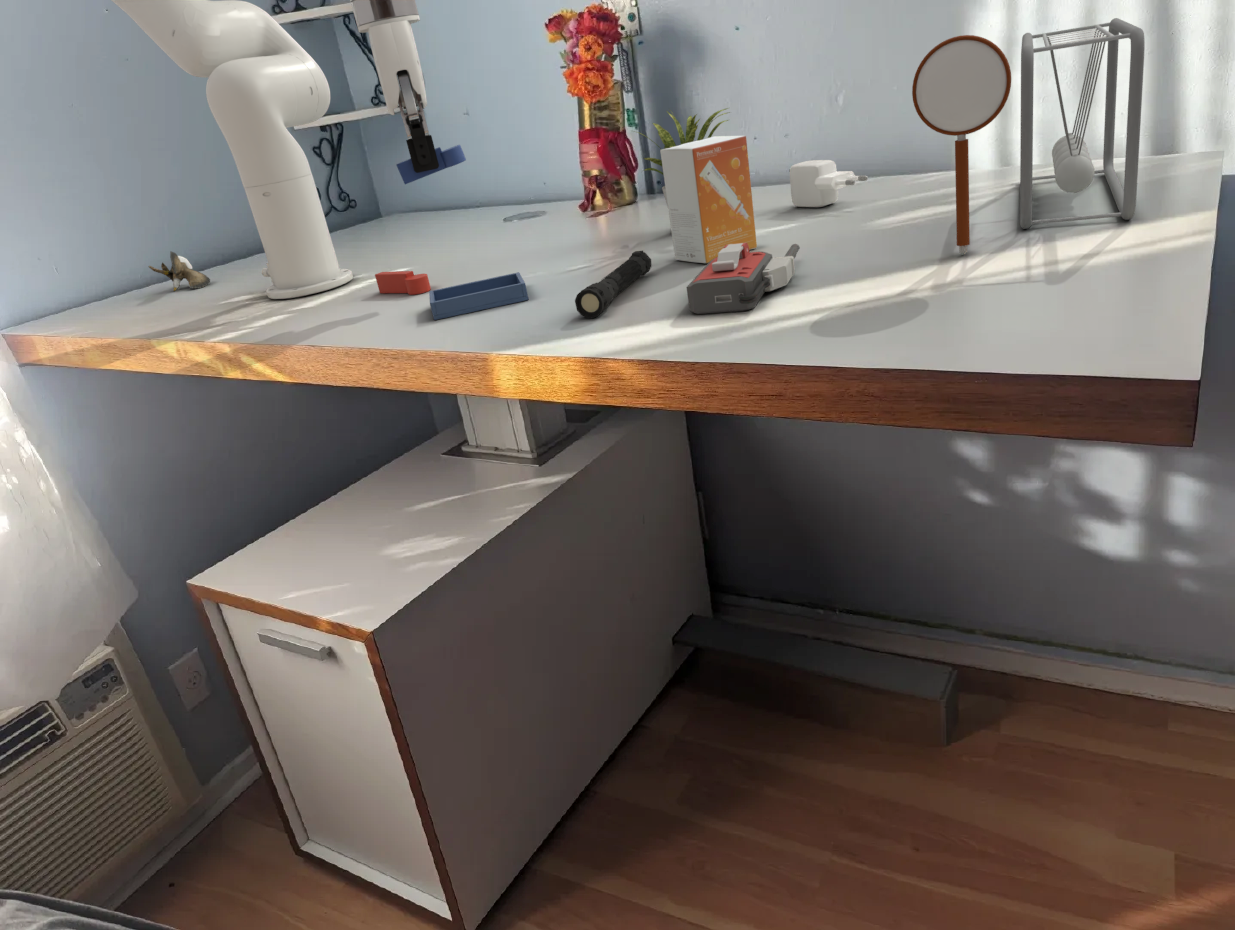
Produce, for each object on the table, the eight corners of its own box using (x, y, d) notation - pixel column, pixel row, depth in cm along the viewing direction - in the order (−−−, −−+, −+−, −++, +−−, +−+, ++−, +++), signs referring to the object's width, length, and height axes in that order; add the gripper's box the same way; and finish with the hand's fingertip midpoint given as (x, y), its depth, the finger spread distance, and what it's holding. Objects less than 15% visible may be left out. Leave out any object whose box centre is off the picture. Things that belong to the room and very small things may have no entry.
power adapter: (874, 202, 124) (871, 156, 122) (850, 210, 122) (847, 164, 119) (811, 200, 133) (808, 158, 130) (788, 208, 130) (784, 165, 128)
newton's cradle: (1135, 224, 91) (1146, 27, 84) (1019, 233, 95) (1020, 47, 88) (1112, 171, 116) (1119, 16, 109) (1021, 181, 120) (1022, 32, 113)
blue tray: (434, 320, 105) (429, 303, 104) (433, 307, 111) (429, 291, 110) (528, 299, 106) (525, 282, 105) (522, 288, 112) (519, 271, 111)
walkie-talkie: (775, 312, 84) (806, 258, 101) (771, 265, 82) (803, 218, 99) (683, 319, 87) (728, 266, 104) (676, 273, 86) (723, 226, 102)
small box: (706, 265, 107) (691, 148, 101) (674, 260, 112) (658, 149, 107) (759, 247, 110) (747, 133, 105) (725, 244, 115) (712, 135, 110)
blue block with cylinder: (404, 185, 117) (396, 164, 116) (404, 183, 120) (396, 163, 119) (467, 160, 118) (458, 140, 117) (465, 159, 120) (457, 139, 119)
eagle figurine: (145, 289, 157) (167, 279, 151) (150, 249, 158) (173, 237, 152) (189, 301, 163) (213, 292, 157) (194, 262, 164) (218, 252, 158)
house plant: (771, 213, 129) (758, 89, 123) (727, 237, 119) (711, 103, 113) (682, 219, 137) (666, 102, 131) (634, 242, 127) (614, 117, 120)
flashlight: (577, 319, 94) (572, 290, 93) (631, 276, 108) (626, 251, 107) (604, 317, 93) (599, 288, 92) (655, 274, 107) (651, 248, 105)
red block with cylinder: (375, 295, 124) (370, 276, 123) (391, 288, 126) (386, 270, 125) (419, 294, 119) (414, 275, 118) (435, 288, 121) (430, 268, 120)
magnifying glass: (916, 259, 93) (909, 44, 85) (919, 255, 94) (912, 43, 86) (1009, 253, 89) (1010, 27, 81) (1011, 249, 90) (1012, 26, 82)
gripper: (357, 24, 118) (398, 172, 125) (352, 13, 104) (398, 180, 111) (415, 13, 119) (452, 160, 126) (418, 0, 105) (459, 167, 112)
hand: (426, 169), depth 118 cm, fingers closed on blue block with cylinder, 1 cm apart
